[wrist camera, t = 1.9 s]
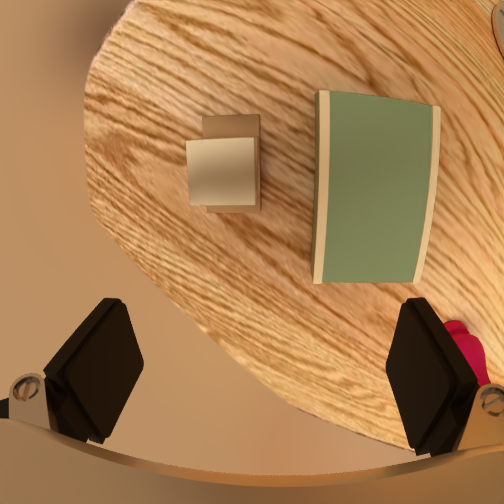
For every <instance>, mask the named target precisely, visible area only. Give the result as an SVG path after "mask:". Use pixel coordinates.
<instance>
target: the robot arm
mask: <svg viewBox="0 0 504 504" xmlns="http://www.w3.org/2000/svg"><path fill="white" fill-rule="evenodd" d="M492 24H493V29H494V34H495V37H496V40H497V43H498V46H499V48H500V51H501V53H502V55H503V57H504V1H502V2H500V3H498V4H497V5H496V6H495V8H494V10H493V14H492ZM143 366H144V361H143V358H142V354H141V352H140V349H139V346H138V343H137V340H136V337H135V333H134V330H133V327H132V324H131V321H130V317H129V314H128V311H127V307H126V305H125V304H124V303H122V301H121V300H120V299H117V298H104V299H103V300H102V301H101V302H100V303H99V304H98V305H97V307H95V309H94V310H93V311H92V312H91V313H90V314H89V316H88V317H87V318H86V319H85V320H84V321H83V322H82V323H81V325H80V326H79V327H78V328H77V329H76V330H75V332H74V333H73V334H72V335H71V336H70V337H69V339H68V340H67V341H66V342H65V343H64V345H63V346H62V347H61V348H60V350H59V351H58V352H57V353H56V354H55V356H54V357H53V358H52V360H51V361H50V362H49V363H48V364H47V366H46V367H45V368H44V370H43V371H44V373H45V375H46V377H45V379H43V378H42V377H41V376H40V375H38V374H35V373H30V374H25V375H23V376H21V377H19V378H18V379H16V380H15V382H14V383H13V384H12V386H11V388H10V391H9V398H6V399H3V400H0V504H504V387H503V386H501V385H499V384H494V383H492V384H486V385H483V386H482V387H481V388H480V386H479V384H478V378H477V376H476V375H475V373H474V371H473V370H472V368H471V366H470V365H469V363H468V361H467V360H466V358H465V357H464V355H463V353H462V352H461V350H460V349H459V347H458V346H457V344H456V342H455V341H454V339H453V338H452V336H451V335H450V333H449V332H448V330H447V329H446V327H445V326H444V324H443V323H442V321H441V320H440V319H439V317H438V316H437V314H436V313H435V311H434V310H433V309H432V307H431V306H430V304H429V303H428V302H427V300H426V299H425V298H423V297H420V298H409V299H407V301H406V303H403V304H402V305H401V309H400V313H399V317H398V322H397V326H396V329H395V333H394V337H393V341H392V344H391V348H390V351H389V355H388V358H387V362H386V373H387V376H388V379H389V382H390V385H391V388H392V391H393V394H394V397H395V400H396V403H397V406H398V409H399V413H400V416H401V419H402V422H403V426H404V429H405V432H406V436H407V439H408V443H409V446H410V448H412V449H413V448H414V449H415V452H416V455H417V456H419V455H423V454H427V453H430V455H431V457H430V458H425V459H421V460H417V461H412V462H408V463H403V464H398V465H392V466H386V467H381V468H375V469H368V470H360V471H353V472H343V473H334V474H333V473H332V474H318V475H297V476H296V475H292V476H291V475H290V476H276V475H274V476H272V475H247V474H246V475H245V474H233V473H222V472H212V471H204V470H197V469H190V468H184V467H178V466H172V465H167V464H162V463H157V462H152V461H148V460H144V459H139V458H135V457H131V456H127V455H124V454H120V453H116V452H113V451H109V450H106V449H103V448H100V447H97V446H94V445H91V444H88V443H86V442H87V440H88V439H89V440H90V441H93V442H96V443H99V444H103V442H104V440H105V438H108V437H109V436H110V435H111V433H112V431H113V429H114V426H115V424H116V422H117V420H118V418H119V416H120V414H121V412H122V410H123V408H124V406H125V404H126V402H127V400H128V398H129V396H130V394H131V392H132V389H133V388H134V385H135V384H136V382H137V380H138V378H139V376H140V374H141V372H142V370H143Z"/></svg>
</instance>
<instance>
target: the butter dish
mask: <svg viewBox="0 0 504 504" xmlns="http://www.w3.org/2000/svg"><path fill="white" fill-rule="evenodd" d="M202 123H203V139H196V140H189V141H186V150H187V168H188V184H189V198H190V206H197V205H207V213H260V212H261V175H260V115H259V114H252V115H226V116H209V117H202Z"/></svg>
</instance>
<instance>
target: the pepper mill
mask: <svg viewBox="0 0 504 504" xmlns="http://www.w3.org/2000/svg"><path fill="white" fill-rule="evenodd" d="M444 326H445V327H446V329H447V330H448V332H449V333H450V335H451V336H452V338H453V339H454V341H455V342H456V344H457V346H458V347H459V349H460V350H461V352H462V353H463V355H464V357H465V358H466V360H467V361H468V363H469V365H470V366H471V368H472V370H473V371H474V373H475V375H476V376H477V378H478V384H479V386H480V388H481V387H482V386H483V385H486V384H491V382H490V380H489V377H488V374H487V369H486V360H485V353H484V349H483V346H482V344H481V342H480V341H479V339H478V338H477V337H476V336H474V335H471V334H469V332H468V330H467V329H466V327H465V326H464V324H463V323H462V322H460V321H450V322H447V323H445V324H444Z"/></svg>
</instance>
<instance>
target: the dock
mask: <svg viewBox="0 0 504 504" xmlns="http://www.w3.org/2000/svg"><path fill="white" fill-rule="evenodd" d="M440 121H441V107H438V106H434V105H427V104H422V103H417V102H412V101H406V100H400V99H394V98H388V97H381V96H373V95H365V94H356V93H346V92H334V91H327V90H319V91H318V92H317V93H316V94H315V186H314V213H313V234H312V252H311V267H310V268H311V274H312V280H313V284H322V282H344V283H391V282H412V284H419V283H420V279H421V275H422V270H423V266H424V261H425V257H426V252H427V247H428V241H429V236H430V230H431V224H432V218H433V211H434V204H435V196H436V187H437V177H438V166H439V151H440Z"/></svg>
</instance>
